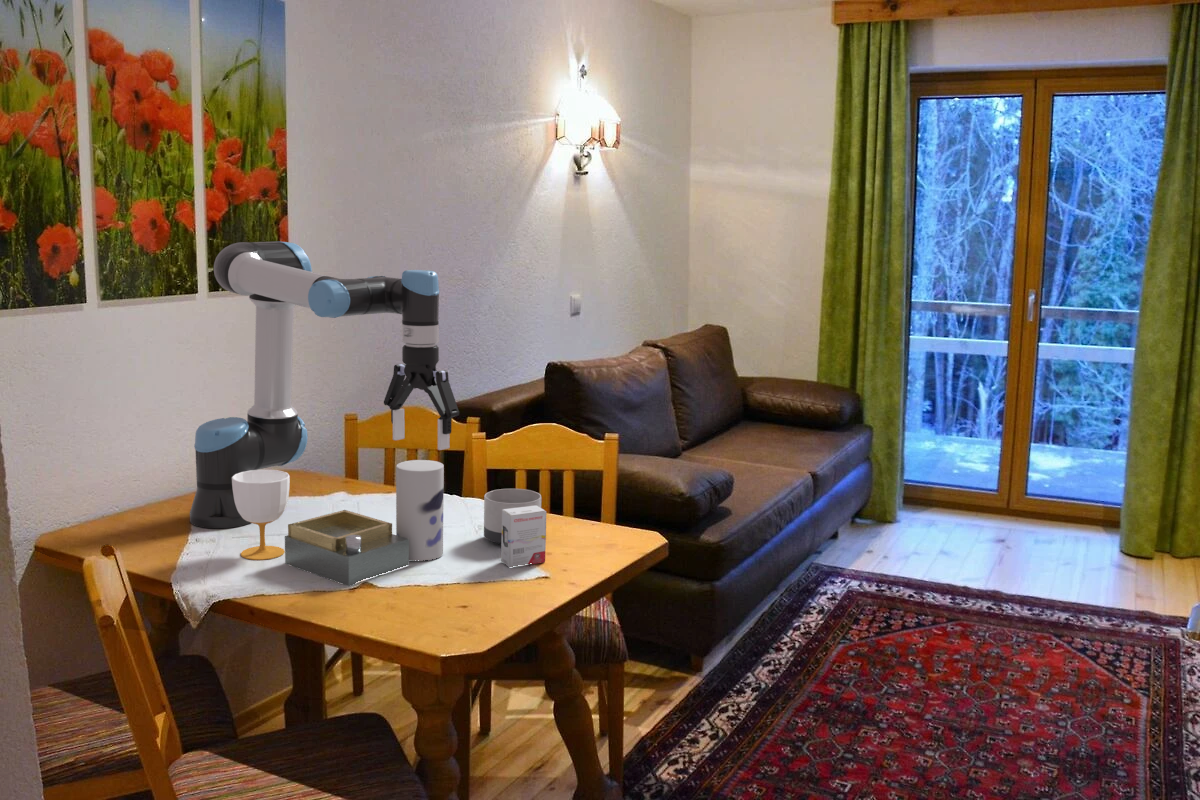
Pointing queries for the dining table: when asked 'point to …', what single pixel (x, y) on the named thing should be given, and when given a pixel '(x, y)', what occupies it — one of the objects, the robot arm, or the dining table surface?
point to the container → (420, 507)
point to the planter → (504, 500)
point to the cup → (261, 505)
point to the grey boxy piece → (345, 547)
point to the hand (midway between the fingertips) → (420, 444)
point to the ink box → (523, 535)
